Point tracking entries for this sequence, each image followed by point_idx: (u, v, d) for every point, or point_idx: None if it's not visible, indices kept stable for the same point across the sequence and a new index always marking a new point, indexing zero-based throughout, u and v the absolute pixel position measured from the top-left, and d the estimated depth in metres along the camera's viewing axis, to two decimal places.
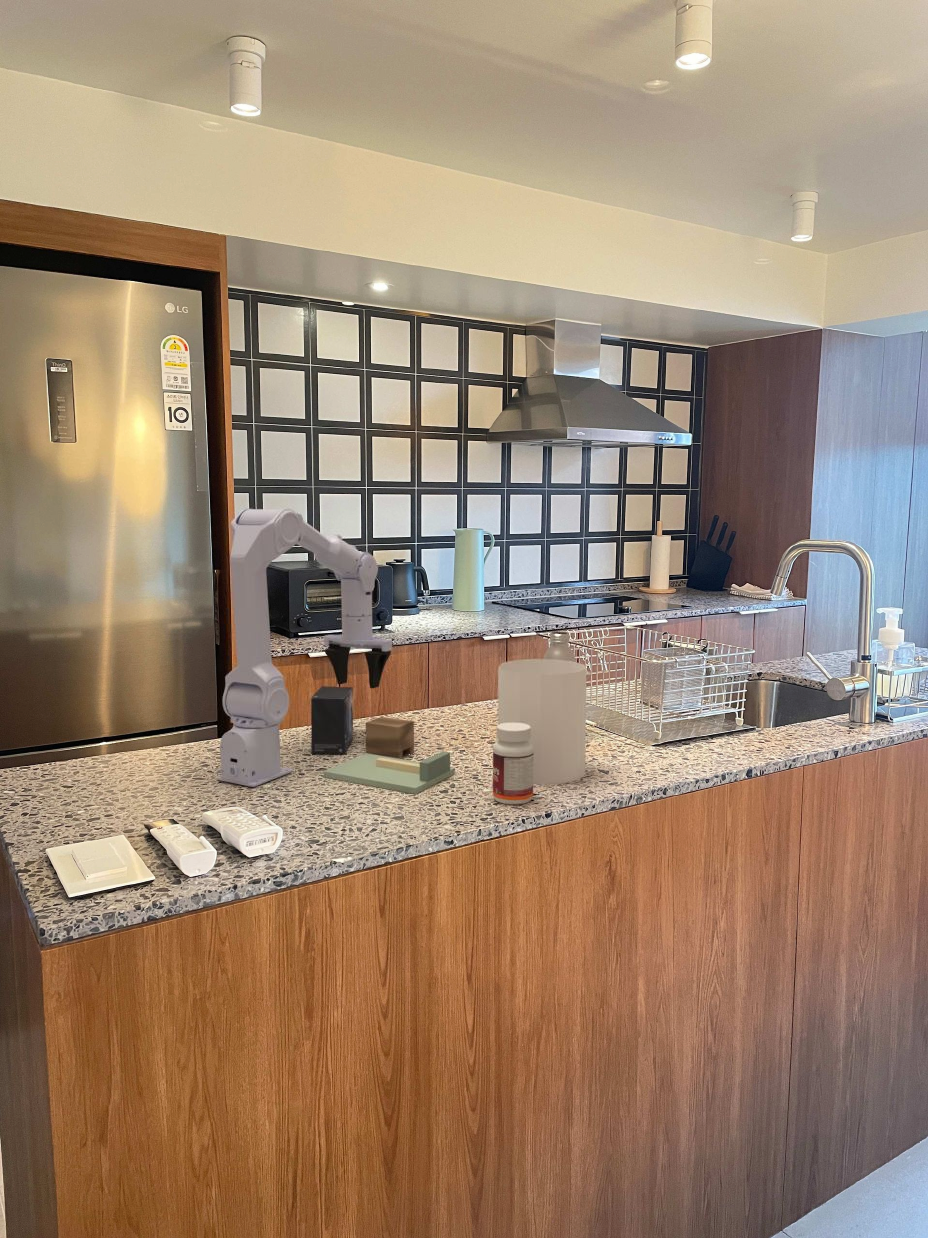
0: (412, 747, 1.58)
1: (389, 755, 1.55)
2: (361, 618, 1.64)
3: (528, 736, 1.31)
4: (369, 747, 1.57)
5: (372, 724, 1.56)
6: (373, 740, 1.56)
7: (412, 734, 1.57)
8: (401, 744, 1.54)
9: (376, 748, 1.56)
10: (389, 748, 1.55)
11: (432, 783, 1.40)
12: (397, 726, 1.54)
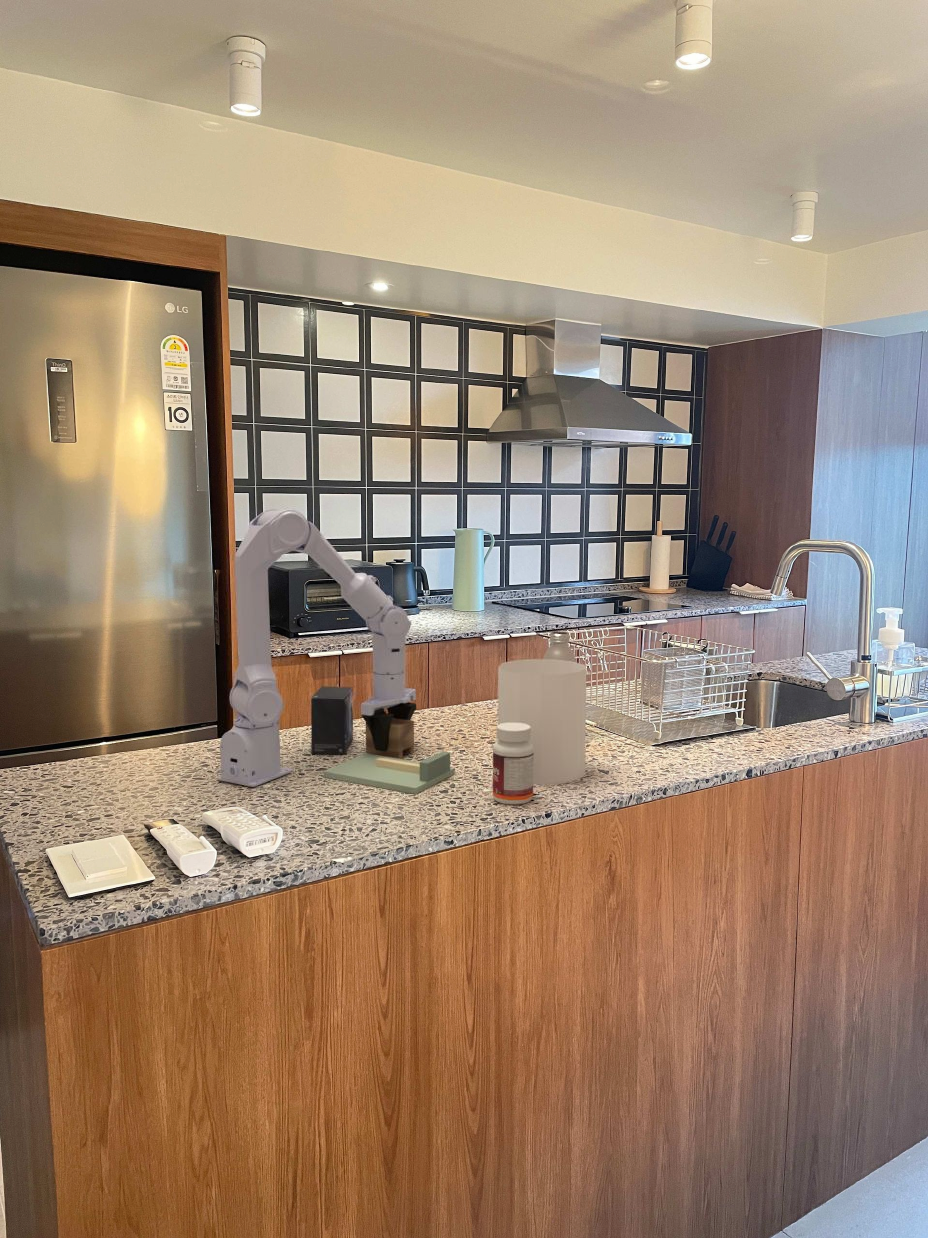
0: (412, 747, 1.58)
1: (389, 755, 1.55)
2: (374, 674, 1.55)
3: (528, 736, 1.31)
4: (369, 747, 1.57)
5: None
6: None
7: (412, 734, 1.57)
8: (401, 744, 1.54)
9: None
10: (389, 748, 1.55)
11: (432, 783, 1.40)
12: (397, 726, 1.54)
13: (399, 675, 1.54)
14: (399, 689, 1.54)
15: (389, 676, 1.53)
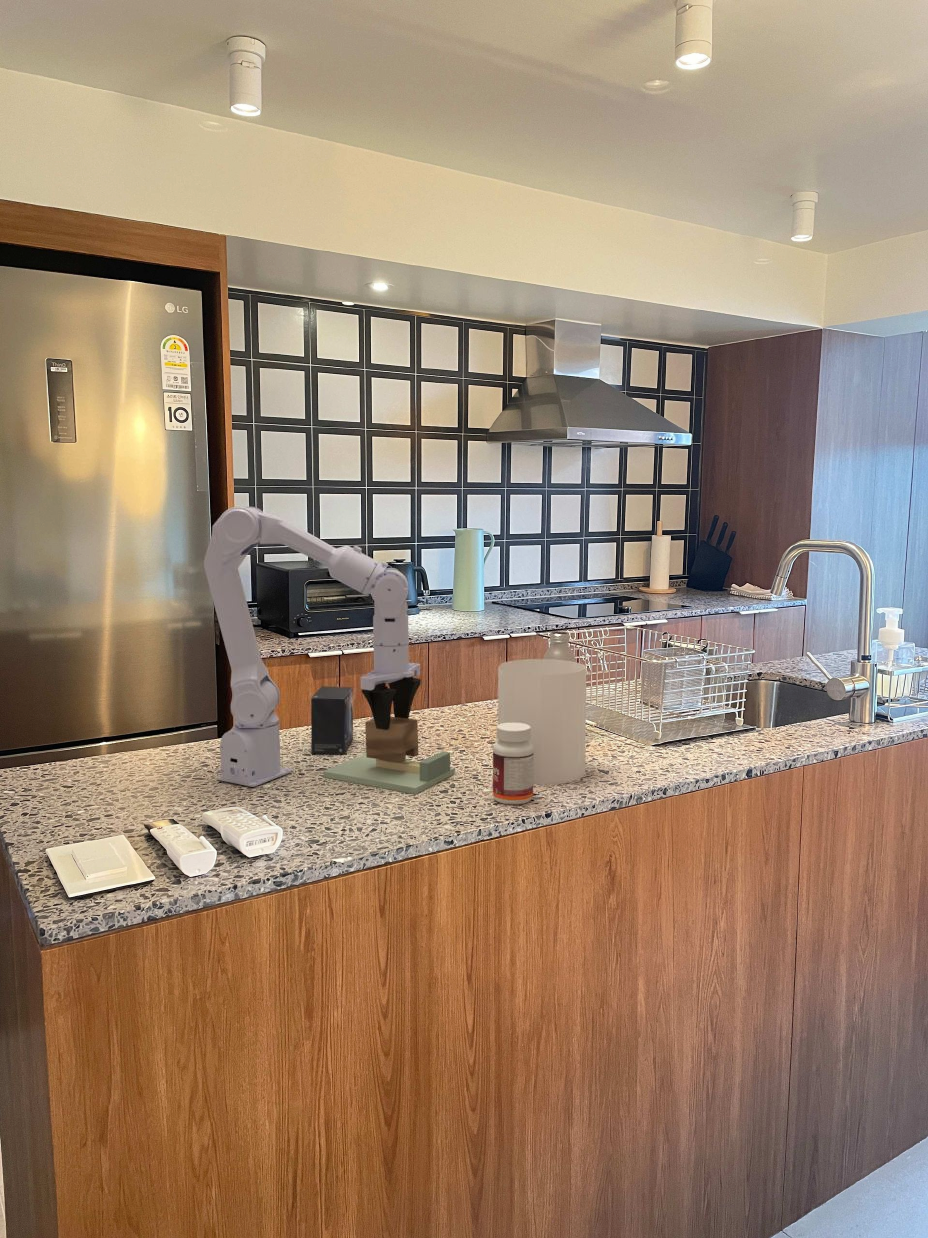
0: (416, 748, 1.46)
1: (391, 756, 1.43)
2: (374, 646, 1.42)
3: (528, 736, 1.31)
4: (369, 748, 1.45)
5: (372, 723, 1.44)
6: (373, 741, 1.44)
7: (416, 734, 1.46)
8: (404, 745, 1.42)
9: (376, 750, 1.44)
10: (391, 749, 1.43)
11: (432, 783, 1.40)
12: (399, 725, 1.42)
13: (402, 647, 1.42)
14: (402, 663, 1.42)
15: (391, 648, 1.41)
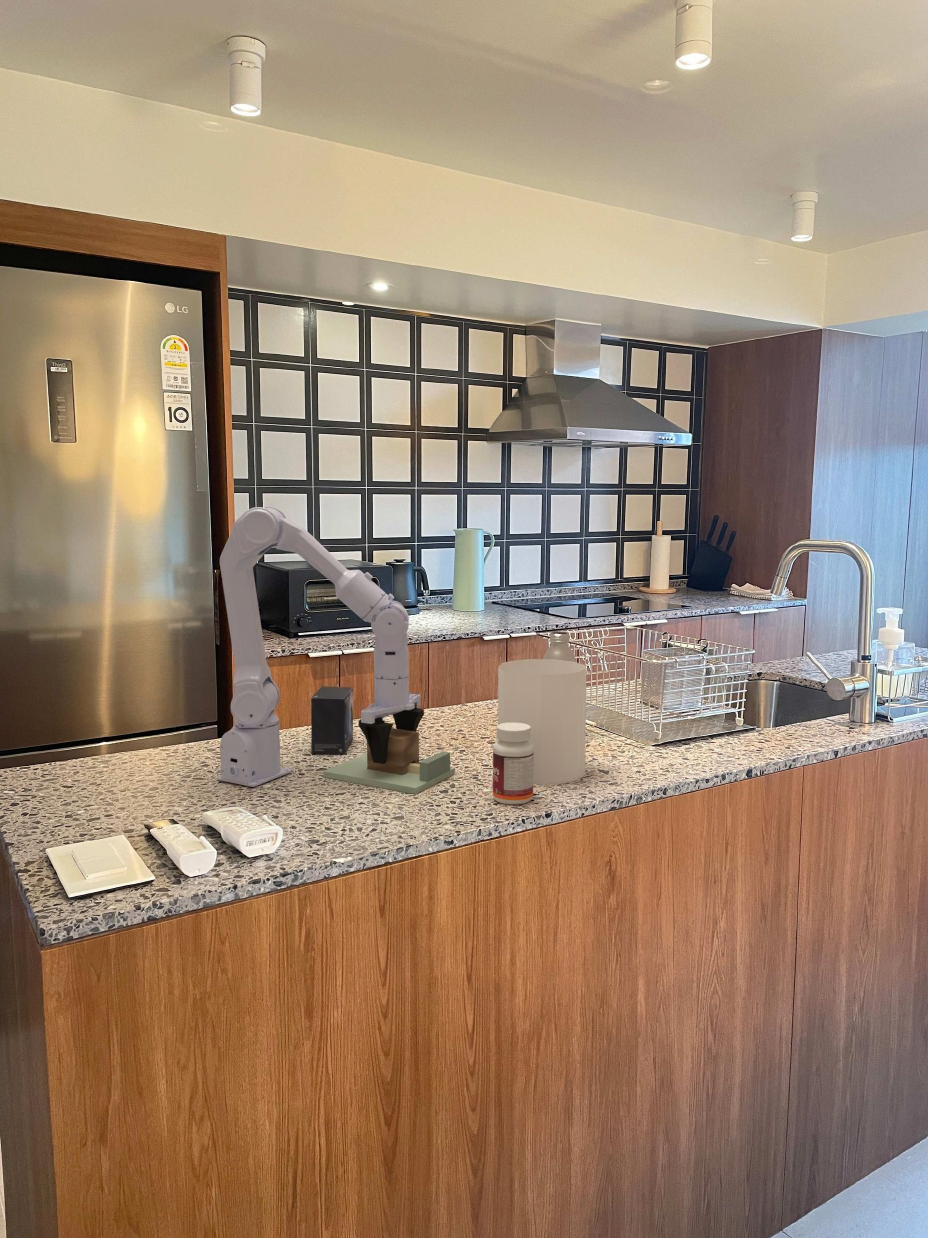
0: (417, 760, 1.46)
1: (392, 769, 1.43)
2: (375, 679, 1.43)
3: (528, 736, 1.31)
4: (370, 760, 1.45)
5: None
6: None
7: (417, 746, 1.46)
8: (405, 757, 1.43)
9: None
10: (392, 761, 1.43)
11: (432, 783, 1.40)
12: (401, 738, 1.42)
13: (402, 680, 1.42)
14: (402, 695, 1.43)
15: (392, 681, 1.41)
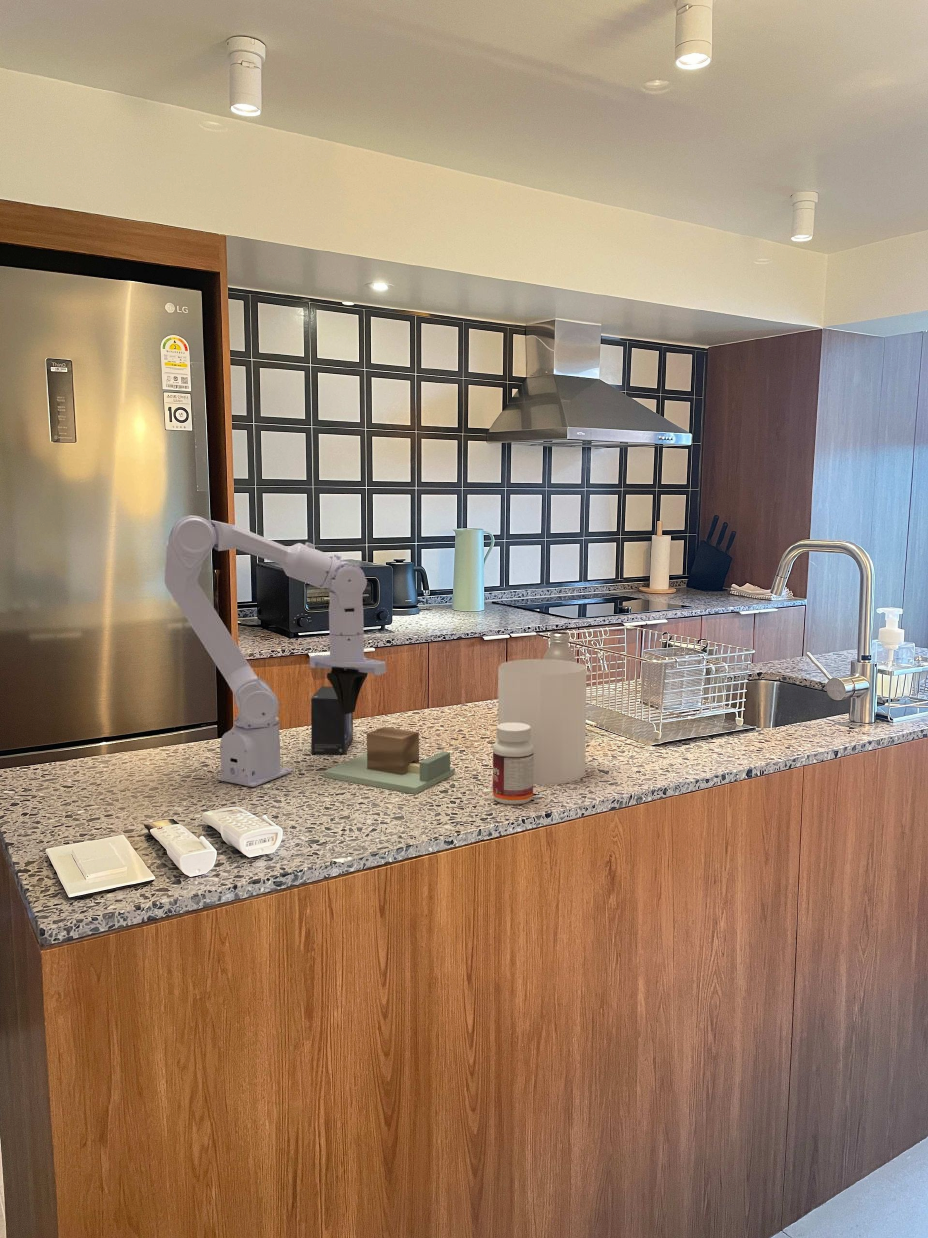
0: (417, 760, 1.46)
1: (392, 769, 1.43)
2: (351, 637, 1.45)
3: (528, 736, 1.31)
4: (370, 760, 1.45)
5: (374, 735, 1.44)
6: (375, 752, 1.45)
7: (417, 746, 1.46)
8: (405, 757, 1.43)
9: (377, 761, 1.45)
10: (392, 761, 1.43)
11: (432, 783, 1.40)
12: (401, 738, 1.42)
13: None
14: None
15: (363, 634, 1.48)
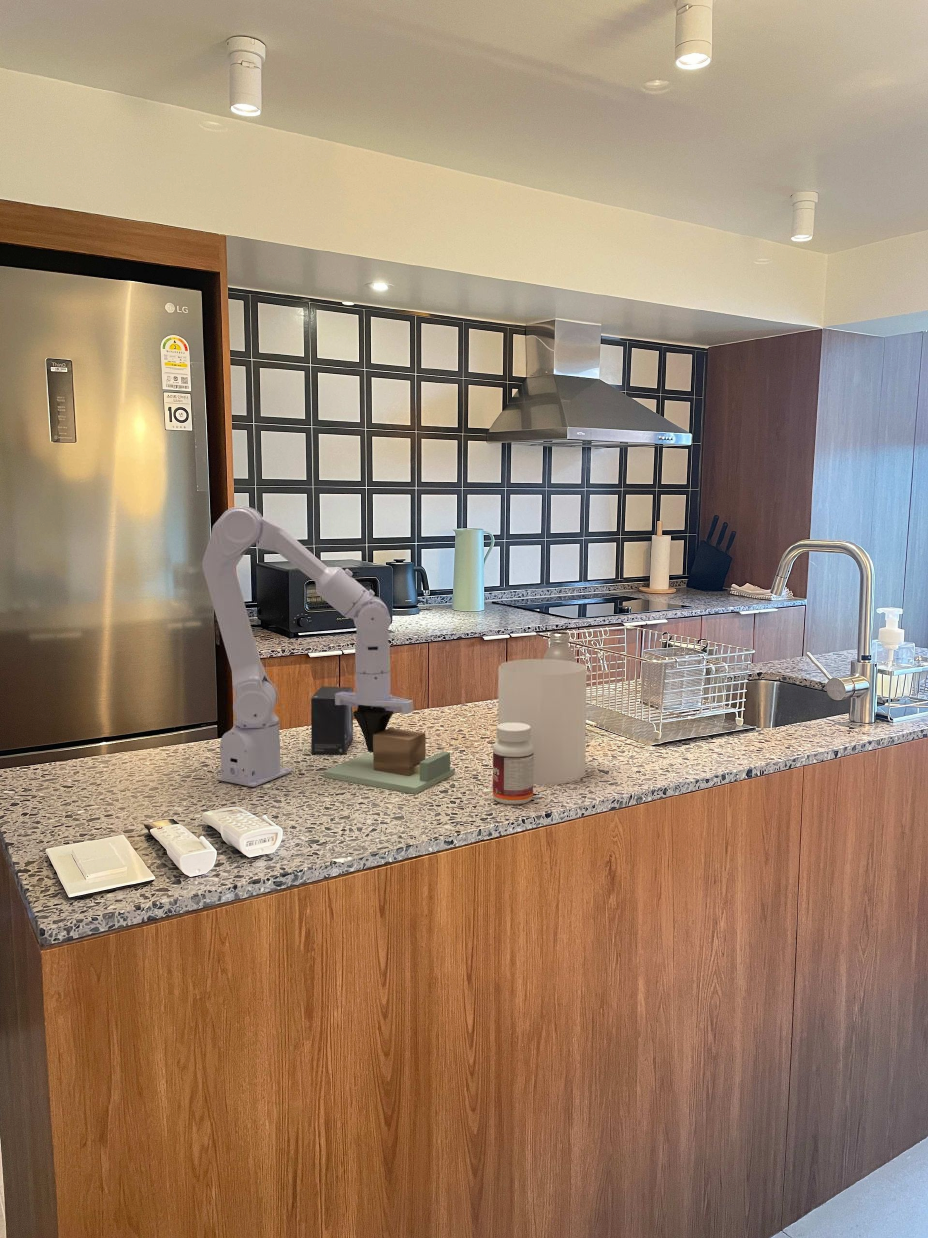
0: None
1: (399, 770, 1.43)
2: (378, 675, 1.44)
3: (528, 736, 1.31)
4: (377, 761, 1.45)
5: (380, 736, 1.44)
6: (381, 754, 1.44)
7: (423, 747, 1.45)
8: (411, 758, 1.42)
9: (384, 763, 1.44)
10: (399, 762, 1.42)
11: (432, 783, 1.40)
12: (408, 739, 1.42)
13: None
14: None
15: None
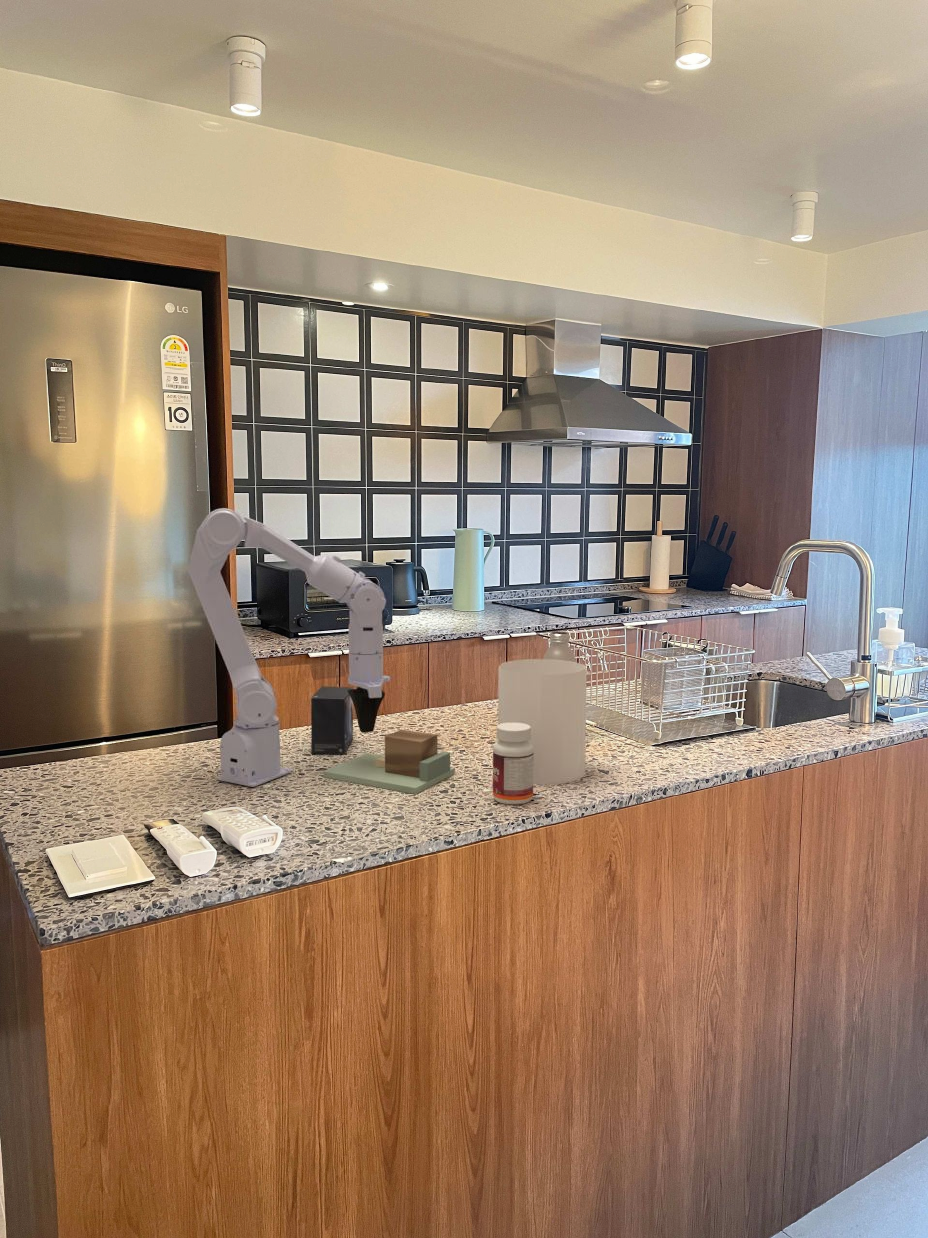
0: None
1: (411, 772, 1.41)
2: (358, 656, 1.45)
3: (528, 736, 1.31)
4: (388, 763, 1.43)
5: (392, 738, 1.42)
6: (393, 756, 1.43)
7: (435, 749, 1.44)
8: None
9: (396, 765, 1.43)
10: (411, 765, 1.41)
11: (432, 783, 1.40)
12: (420, 741, 1.40)
13: (382, 653, 1.48)
14: (382, 668, 1.48)
15: (378, 655, 1.46)
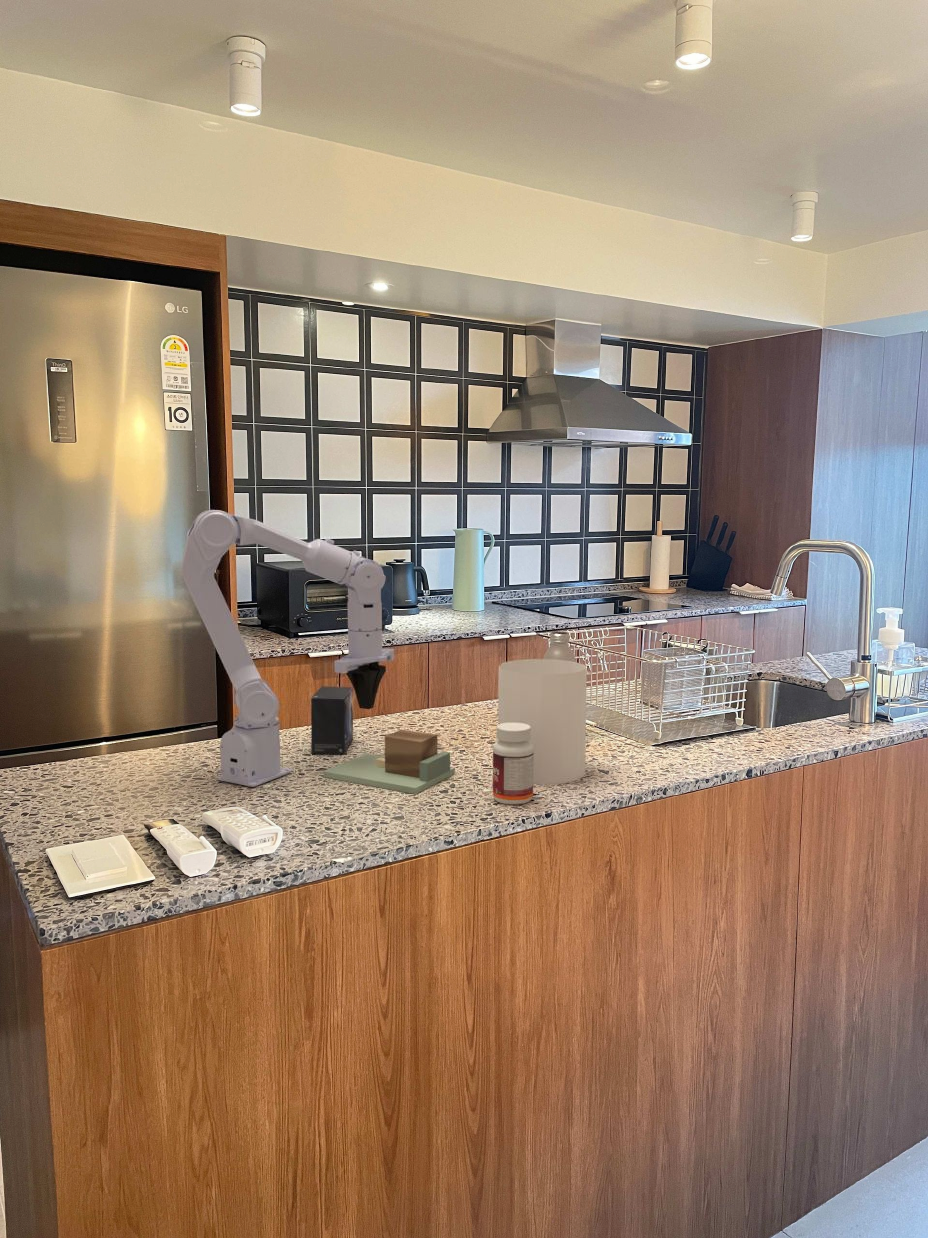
0: None
1: (411, 772, 1.41)
2: (349, 632, 1.48)
3: (528, 736, 1.31)
4: (388, 763, 1.43)
5: (392, 738, 1.42)
6: (393, 756, 1.43)
7: (435, 749, 1.44)
8: None
9: (396, 765, 1.43)
10: (411, 765, 1.41)
11: (432, 783, 1.40)
12: (420, 741, 1.40)
13: (375, 632, 1.47)
14: (375, 647, 1.47)
15: (364, 633, 1.46)
